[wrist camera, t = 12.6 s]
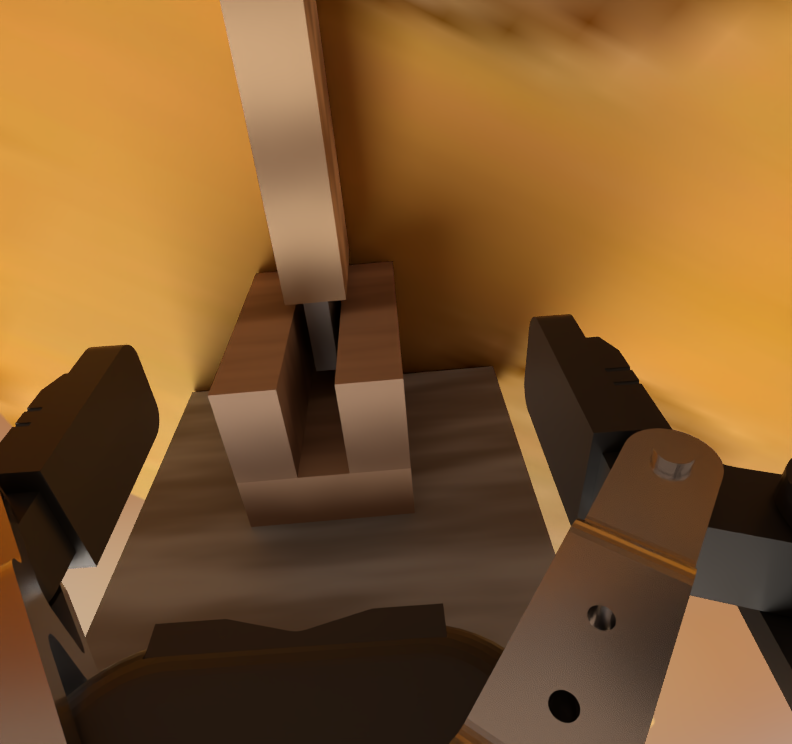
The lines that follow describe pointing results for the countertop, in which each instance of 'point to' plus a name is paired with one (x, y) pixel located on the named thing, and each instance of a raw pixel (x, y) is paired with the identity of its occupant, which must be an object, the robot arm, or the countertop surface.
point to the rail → (294, 156)
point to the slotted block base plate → (330, 488)
